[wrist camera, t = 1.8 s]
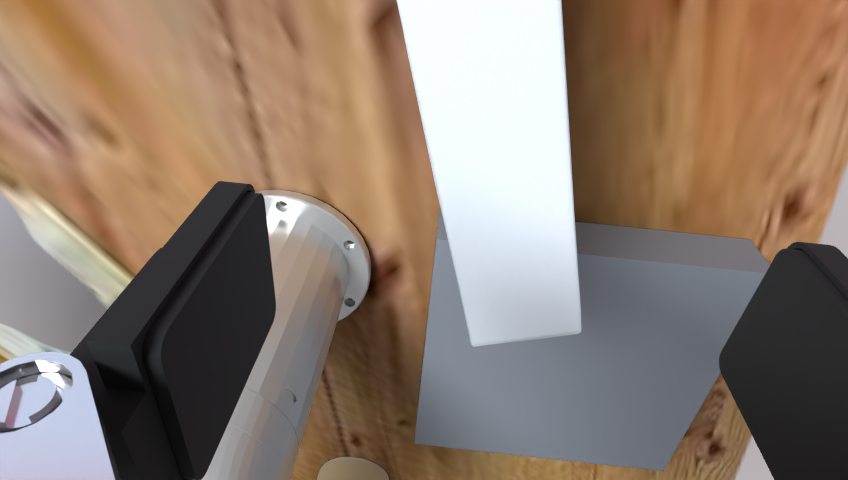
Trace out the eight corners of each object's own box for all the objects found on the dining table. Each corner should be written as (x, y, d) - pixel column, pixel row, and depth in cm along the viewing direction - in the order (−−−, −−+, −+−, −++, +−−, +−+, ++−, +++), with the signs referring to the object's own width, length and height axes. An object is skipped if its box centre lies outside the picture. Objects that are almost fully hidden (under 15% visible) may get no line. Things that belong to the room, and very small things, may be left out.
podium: (650, 431, 50) (663, 471, 46) (417, 406, 50) (414, 443, 47) (750, 239, 37) (777, 274, 34) (439, 207, 38) (436, 239, 34)
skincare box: (541, 170, 36) (584, 340, 22) (461, 182, 36) (457, 352, 23) (503, -240, 24) (545, -382, 11) (388, -207, 25) (300, -302, 12)
